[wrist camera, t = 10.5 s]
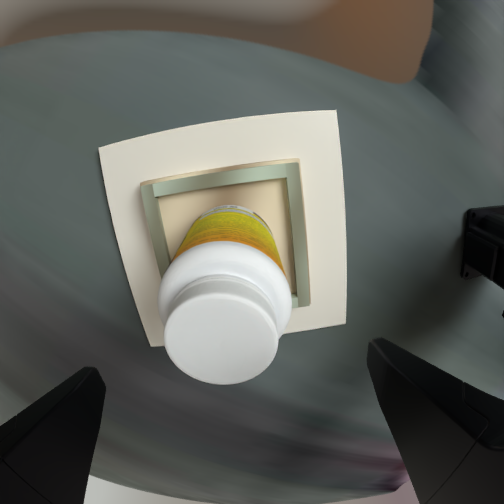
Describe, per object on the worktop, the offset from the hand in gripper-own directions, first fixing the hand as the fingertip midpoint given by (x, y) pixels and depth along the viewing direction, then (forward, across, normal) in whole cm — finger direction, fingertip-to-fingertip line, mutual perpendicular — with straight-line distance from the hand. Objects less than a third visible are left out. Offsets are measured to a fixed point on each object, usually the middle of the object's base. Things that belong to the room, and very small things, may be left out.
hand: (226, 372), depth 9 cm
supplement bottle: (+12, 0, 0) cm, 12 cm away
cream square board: (+13, 0, 0) cm, 13 cm away
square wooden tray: (+12, 0, 0) cm, 12 cm away
